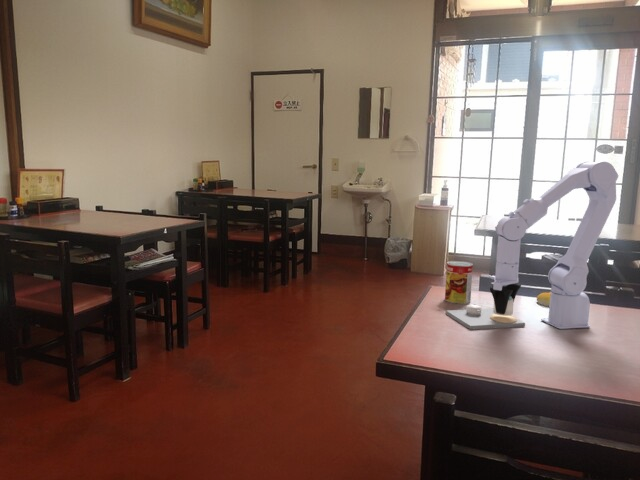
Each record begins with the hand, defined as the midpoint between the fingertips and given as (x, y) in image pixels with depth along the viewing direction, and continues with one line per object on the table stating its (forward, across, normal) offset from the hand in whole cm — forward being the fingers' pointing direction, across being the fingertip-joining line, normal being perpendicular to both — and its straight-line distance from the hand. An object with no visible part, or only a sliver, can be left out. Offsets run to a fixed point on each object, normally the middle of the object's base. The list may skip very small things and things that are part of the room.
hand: (503, 311), depth 135 cm
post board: (+3, +1, -5) cm, 6 cm away
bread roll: (+4, -30, +6) cm, 31 cm away
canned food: (+3, -14, -19) cm, 23 cm away
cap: (+1, 0, 0) cm, 1 cm away
